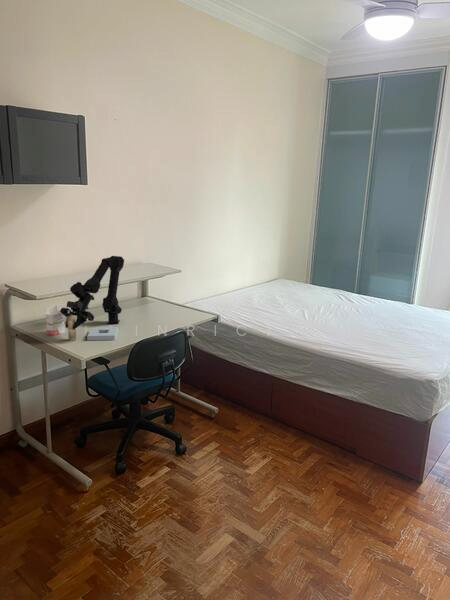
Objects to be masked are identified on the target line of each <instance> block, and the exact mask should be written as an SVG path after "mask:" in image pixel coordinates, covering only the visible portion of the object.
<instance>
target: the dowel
mask: <svg viewBox="0 0 450 600" xmlns="http://www.w3.org/2000/svg"><path fill="white" fill-rule="evenodd" d="M75 317H76V316H75V315H73V316H68V317H67V321H68V328H67V333H68V340H69V341H71V342H73V341H76V340H77V333H76V332H77V331H76V330H77V328H75V329H73V326H74V324H75V322H76V318H75Z"/></svg>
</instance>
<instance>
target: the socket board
mask: <svg viewBox="0 0 450 600" xmlns="http://www.w3.org/2000/svg"><path fill="white" fill-rule="evenodd" d="M118 334H119V327H116V326H115V327H113V326H109V327H108V326H107V327H106V326H105V327H91V329H90V330H89V332H88V334H87V337H86V338H87V341H115V340H116V338H117V337H118Z"/></svg>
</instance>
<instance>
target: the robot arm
mask: <svg viewBox="0 0 450 600" xmlns="http://www.w3.org/2000/svg"><path fill="white" fill-rule="evenodd" d="M124 264H125V259H124V257H123V256H121V255H120V256H119V255H111V256H110V257H105V258H101V261H100V264H99V266H98V268H97V269H96V270H95V271H94V274H93V275H92V277H90V278H88V280H86V281H85V283H83V284H82V282H80V281H77V282H76V283H74V284H73V285H72V286H71V287H70V288H69V289H70V290H69V291H70V293H72V294H73V296H75V297H76V298H77V299H78V300H76V301H70V300H69V301H67V302H66V306H65V307H61V308H60V310H59V311H60V312H61V313H62V314H63V315H64V317H66V318H65V319H66V321H65V329H68V321H67V317H68V316H75V317H76V319H75V324H74V326H73V329H77V328H78V327H79V326H81V325H83V324H85V322H88V321H89V322H94V319H95V315H94V314H93V313H91V311H88V310H89V305H90V303H91V301H95V297H94V295H93V294H97V293H99V290H100V289H101V282H102V280H103V278H104V276H105V275H106V273H107V271H108V270H110V272H109V273H110V274H109V281H108V282H109V283H108V288H107V295H106V297H103V298H102V304H101V306H102V309H103V311H104V313H106V314H107V318H108V319H107V325H118V324H119V323H120V319H119V314H121V313H122V310H123V309H122V308H121V306H119V300H118V298H117V292H118V287H119V286H118V285H119V279H120V278H119V277H120V272H121V271H122V269H124ZM86 310H87V311H86Z"/></svg>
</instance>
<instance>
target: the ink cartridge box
mask: <svg viewBox="0 0 450 600" xmlns="http://www.w3.org/2000/svg"><path fill="white" fill-rule="evenodd" d="M45 322H46V323H45V324H46V335H48V336H52V337H56V336H57V335H59V334H62V333H65V331H66V330H65V329H66V325H65V316H64V315H63V314H62V313H61V312H60V310H58V305H57V304H56V305H53V306H50V307H47V308H45Z"/></svg>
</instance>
